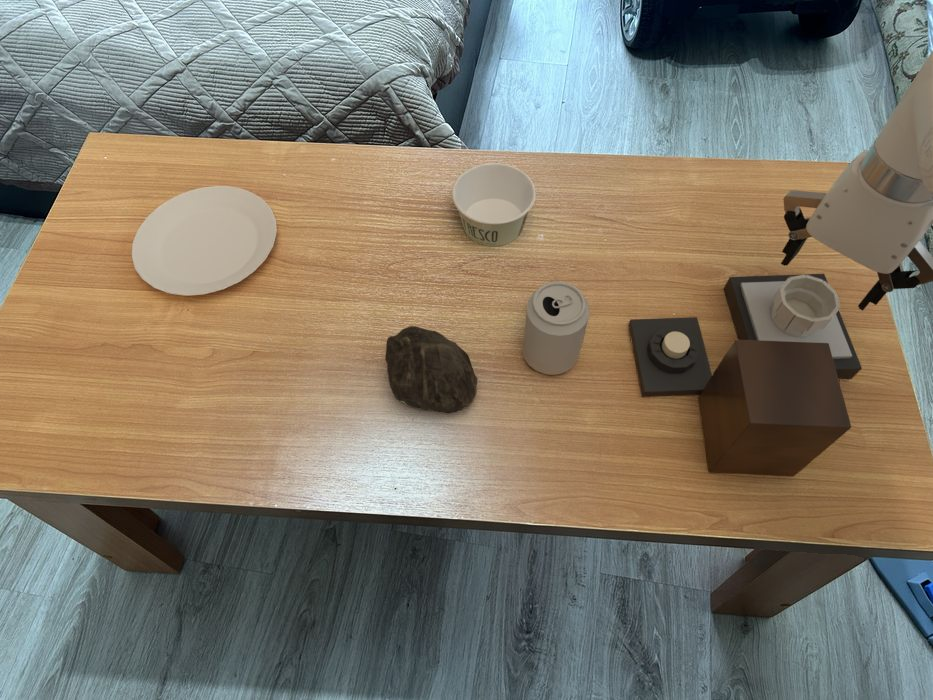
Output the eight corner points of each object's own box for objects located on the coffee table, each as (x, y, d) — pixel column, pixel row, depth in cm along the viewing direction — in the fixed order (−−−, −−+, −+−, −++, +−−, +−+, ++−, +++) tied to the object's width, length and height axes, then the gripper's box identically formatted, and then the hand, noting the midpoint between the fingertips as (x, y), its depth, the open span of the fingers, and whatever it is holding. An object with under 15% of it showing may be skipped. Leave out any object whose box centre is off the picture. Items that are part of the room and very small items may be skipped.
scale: (851, 378, 84) (864, 366, 81) (750, 382, 84) (760, 369, 81) (815, 285, 91) (826, 270, 88) (723, 288, 91) (731, 274, 88)
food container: (539, 201, 101) (543, 169, 95) (523, 260, 95) (526, 229, 89) (464, 188, 102) (463, 156, 97) (444, 245, 96) (442, 214, 91)
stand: (778, 401, 82) (828, 342, 70) (794, 476, 77) (851, 427, 65) (697, 397, 83) (734, 339, 71) (708, 472, 77) (750, 423, 65)
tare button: (689, 358, 82) (692, 352, 81) (664, 359, 82) (667, 353, 81) (684, 337, 84) (687, 330, 83) (659, 338, 84) (662, 331, 83)
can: (513, 338, 88) (518, 284, 77) (565, 323, 89) (577, 268, 78) (533, 384, 84) (541, 334, 74) (587, 369, 85) (602, 317, 75)
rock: (476, 425, 80) (464, 378, 72) (388, 423, 82) (367, 377, 74) (484, 360, 86) (474, 310, 78) (402, 359, 88) (384, 310, 80)
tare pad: (712, 394, 83) (720, 383, 80) (642, 397, 83) (647, 385, 80) (694, 322, 88) (700, 310, 86) (628, 324, 88) (632, 312, 86)
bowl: (833, 315, 85) (850, 295, 81) (805, 351, 82) (821, 331, 78) (784, 286, 87) (798, 265, 83) (756, 319, 85) (769, 299, 81)
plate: (177, 329, 89) (171, 320, 87) (115, 240, 98) (108, 230, 96) (306, 254, 96) (303, 244, 94) (237, 176, 105) (233, 165, 103)
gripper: (1014, 190, 61) (911, 300, 75) (839, 110, 67) (775, 226, 82) (983, 235, 58) (883, 340, 72) (804, 147, 64) (744, 260, 79)
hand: (826, 279), depth 77 cm, fingers open, 9 cm apart
